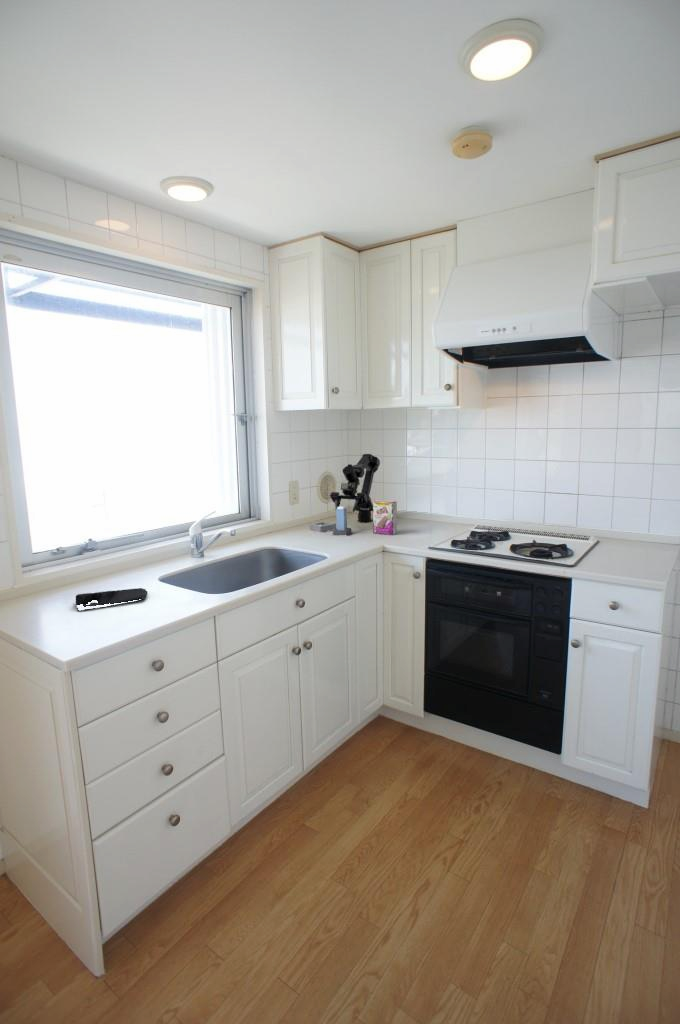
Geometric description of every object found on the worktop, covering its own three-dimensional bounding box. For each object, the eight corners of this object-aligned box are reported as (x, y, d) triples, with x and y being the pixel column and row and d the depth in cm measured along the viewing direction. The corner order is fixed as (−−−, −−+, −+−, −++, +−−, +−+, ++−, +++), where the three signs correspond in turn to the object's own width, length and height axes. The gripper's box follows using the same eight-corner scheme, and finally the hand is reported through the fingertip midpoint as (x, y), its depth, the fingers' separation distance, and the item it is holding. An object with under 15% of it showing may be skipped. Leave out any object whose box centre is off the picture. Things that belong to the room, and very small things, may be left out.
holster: (338, 532, 273) (338, 527, 272) (351, 532, 270) (351, 528, 269) (332, 535, 266) (332, 530, 266) (346, 535, 263) (346, 530, 263)
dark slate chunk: (147, 604, 174) (145, 590, 173) (73, 614, 168) (71, 599, 167) (148, 591, 189) (147, 578, 188) (80, 599, 182) (78, 585, 181)
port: (324, 526, 287) (324, 520, 287) (336, 529, 279) (335, 522, 279) (309, 529, 281) (309, 523, 281) (320, 532, 273) (320, 525, 273)
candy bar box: (372, 533, 267) (372, 501, 264) (377, 531, 271) (376, 499, 268) (393, 535, 261) (392, 502, 258) (397, 533, 265) (397, 500, 262)
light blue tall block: (340, 532, 271) (339, 506, 268) (347, 533, 269) (346, 506, 267) (337, 534, 267) (336, 507, 264) (344, 535, 265) (343, 507, 263)
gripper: (330, 476, 275) (322, 500, 267) (364, 477, 268) (357, 502, 260) (337, 489, 284) (329, 513, 276) (370, 490, 277) (363, 515, 268)
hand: (344, 510), depth 270 cm, fingers open, 9 cm apart
